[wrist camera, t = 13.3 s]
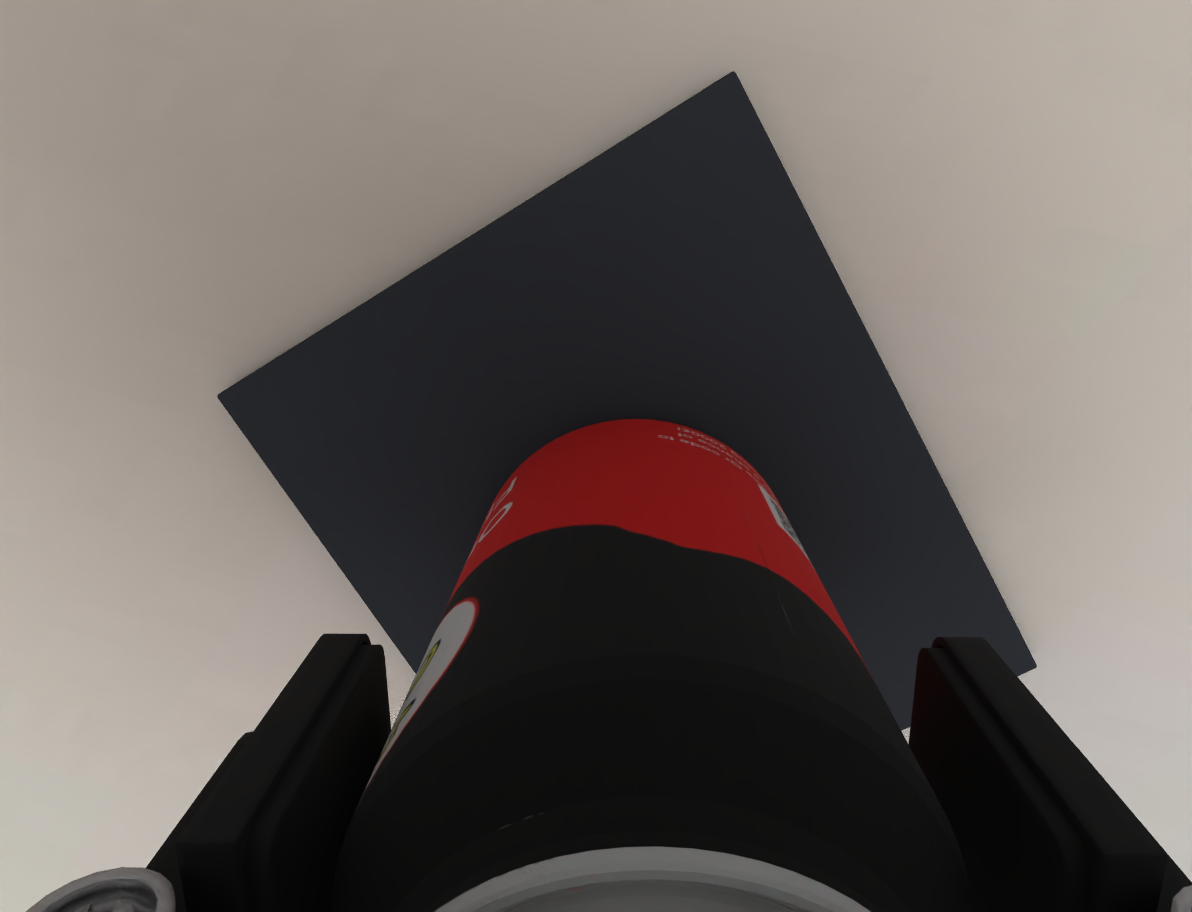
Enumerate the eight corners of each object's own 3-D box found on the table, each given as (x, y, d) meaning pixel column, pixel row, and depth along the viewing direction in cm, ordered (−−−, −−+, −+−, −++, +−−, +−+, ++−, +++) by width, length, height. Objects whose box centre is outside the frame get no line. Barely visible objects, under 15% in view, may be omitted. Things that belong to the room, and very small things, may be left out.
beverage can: (701, 351, 17) (868, 648, 5) (832, 608, 18) (1180, 1273, 7) (430, 491, 18) (89, 993, 6) (575, 725, 19) (504, 1476, 8)
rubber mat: (223, 392, 18) (215, 395, 18) (731, 73, 16) (734, 70, 16) (569, 875, 21) (568, 887, 21) (1030, 658, 19) (1038, 667, 19)
